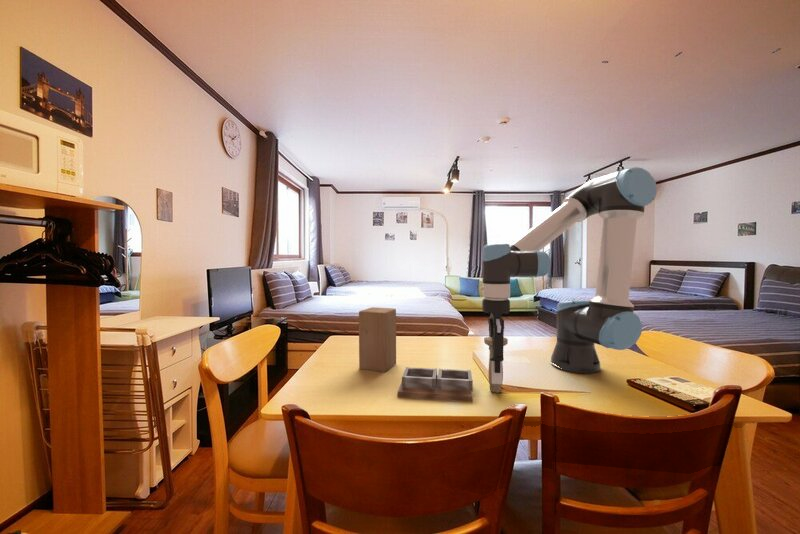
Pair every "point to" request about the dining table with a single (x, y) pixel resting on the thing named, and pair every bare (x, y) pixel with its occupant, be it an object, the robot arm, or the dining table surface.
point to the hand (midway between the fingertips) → (495, 380)
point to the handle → (493, 387)
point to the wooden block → (377, 339)
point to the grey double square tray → (436, 384)
